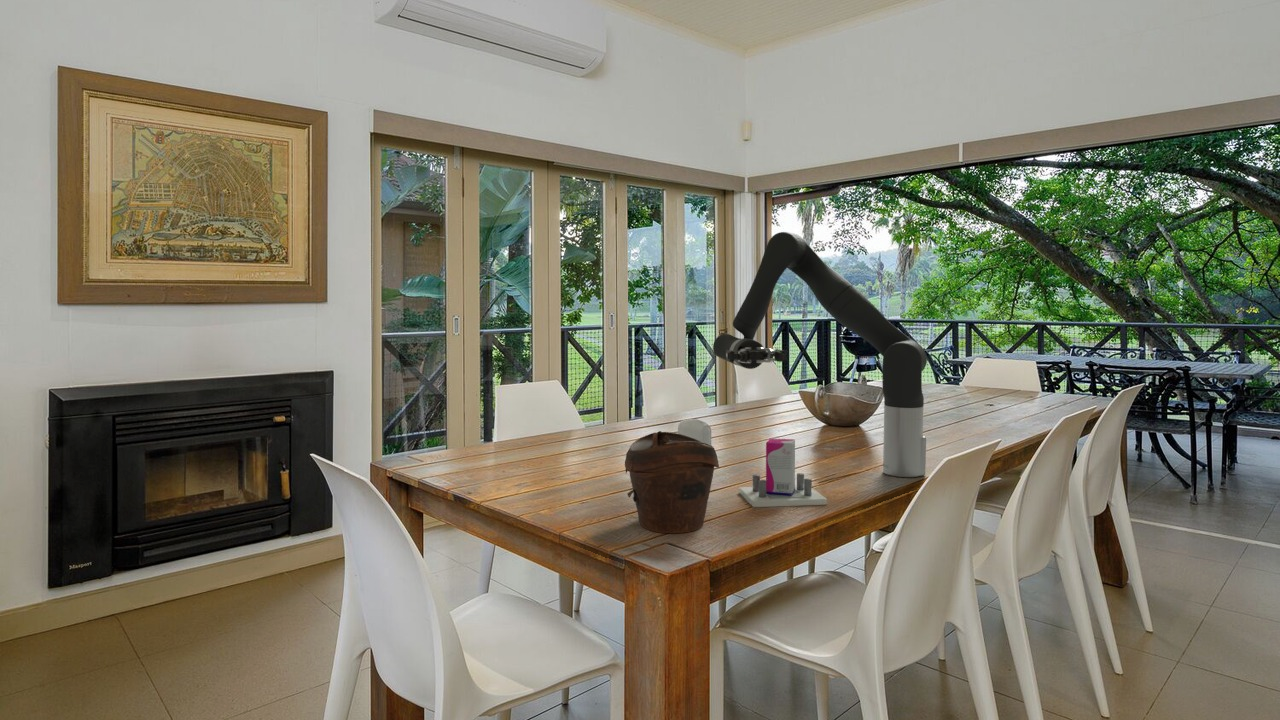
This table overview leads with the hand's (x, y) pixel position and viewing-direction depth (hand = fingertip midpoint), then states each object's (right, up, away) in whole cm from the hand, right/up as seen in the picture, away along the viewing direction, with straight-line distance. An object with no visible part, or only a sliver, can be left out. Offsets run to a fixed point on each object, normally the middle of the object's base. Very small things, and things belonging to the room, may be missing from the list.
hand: (763, 357), depth 172 cm
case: (-24, -33, -30) cm, 50 cm away
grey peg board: (+2, -31, -13) cm, 34 cm away
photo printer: (-15, -29, +21) cm, 38 cm away
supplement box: (+1, -30, -13) cm, 32 cm away
